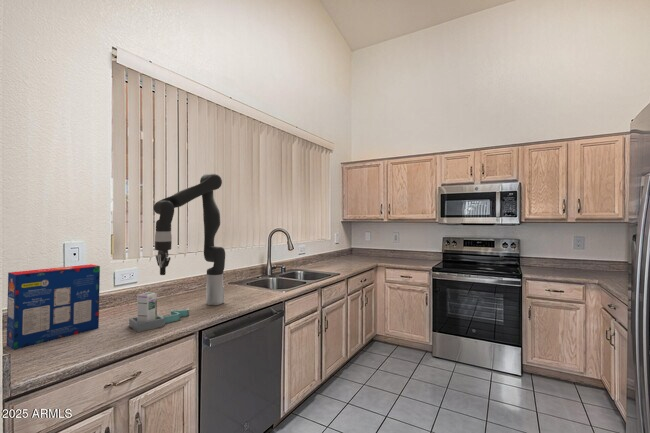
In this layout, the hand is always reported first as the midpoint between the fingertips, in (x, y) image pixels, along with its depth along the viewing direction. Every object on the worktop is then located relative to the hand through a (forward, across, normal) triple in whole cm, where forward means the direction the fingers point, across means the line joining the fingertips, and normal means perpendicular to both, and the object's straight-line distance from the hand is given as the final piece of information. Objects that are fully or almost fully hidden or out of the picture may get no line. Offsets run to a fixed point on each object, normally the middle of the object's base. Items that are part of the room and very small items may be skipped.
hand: (162, 274), depth 161 cm
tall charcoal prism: (+21, -9, 0) cm, 23 cm away
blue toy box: (+21, +3, +41) cm, 46 cm away
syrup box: (+21, -9, +10) cm, 25 cm away
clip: (+21, -9, 0) cm, 23 cm away
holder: (+21, -10, +10) cm, 25 cm away
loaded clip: (+21, -4, -7) cm, 23 cm away
